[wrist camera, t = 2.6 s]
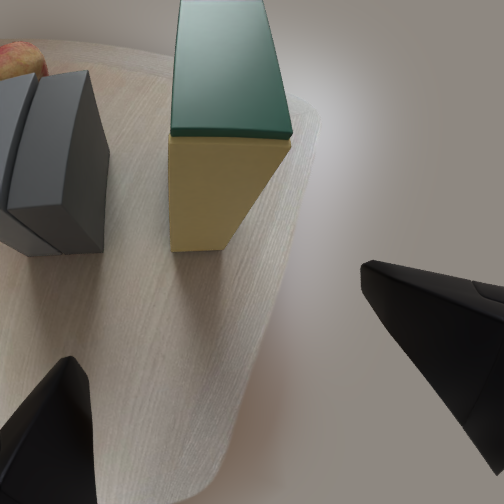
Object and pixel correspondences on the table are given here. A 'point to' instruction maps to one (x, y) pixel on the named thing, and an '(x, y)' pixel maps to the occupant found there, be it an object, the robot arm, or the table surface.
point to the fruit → (21, 61)
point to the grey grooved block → (52, 165)
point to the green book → (222, 120)
